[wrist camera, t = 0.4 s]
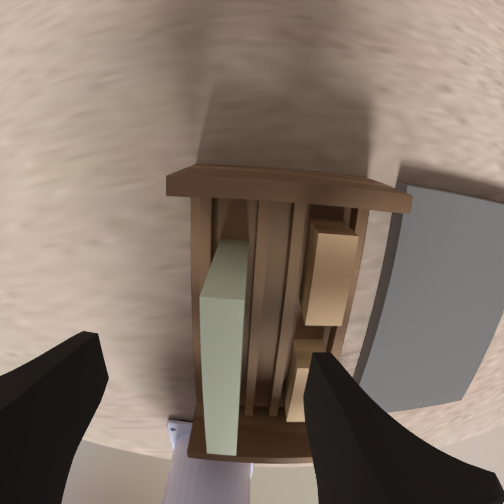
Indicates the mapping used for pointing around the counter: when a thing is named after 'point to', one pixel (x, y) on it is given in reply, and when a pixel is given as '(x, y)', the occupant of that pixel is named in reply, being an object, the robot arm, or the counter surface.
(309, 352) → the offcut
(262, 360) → the rack
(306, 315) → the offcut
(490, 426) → the counter surface
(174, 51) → the counter surface
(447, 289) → the mat
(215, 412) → the pale green rectangular block
